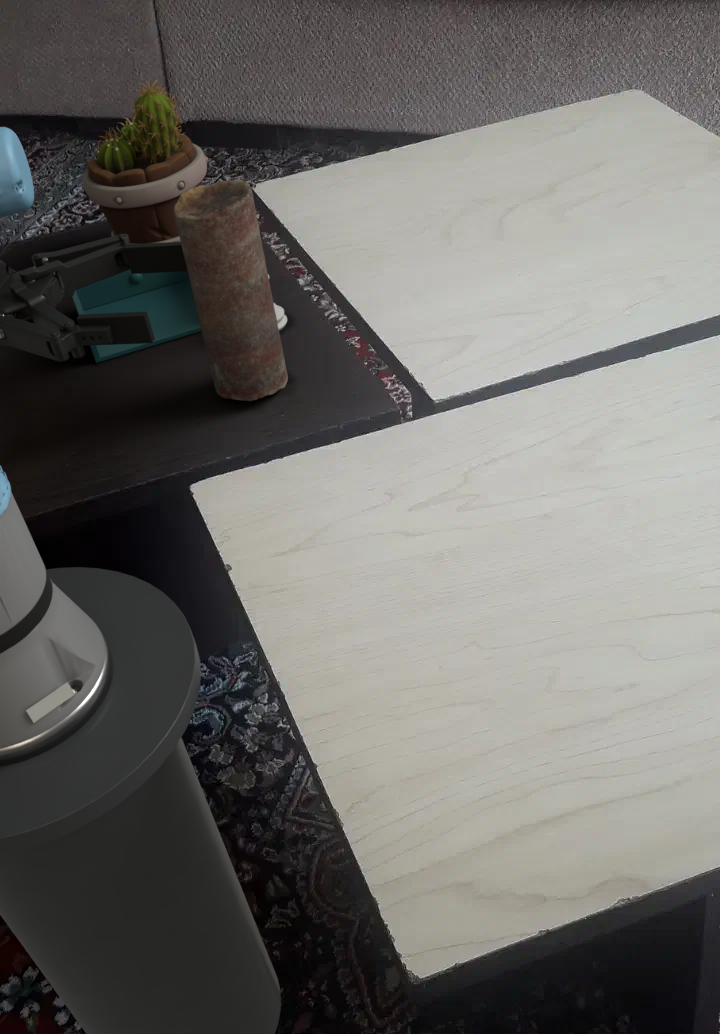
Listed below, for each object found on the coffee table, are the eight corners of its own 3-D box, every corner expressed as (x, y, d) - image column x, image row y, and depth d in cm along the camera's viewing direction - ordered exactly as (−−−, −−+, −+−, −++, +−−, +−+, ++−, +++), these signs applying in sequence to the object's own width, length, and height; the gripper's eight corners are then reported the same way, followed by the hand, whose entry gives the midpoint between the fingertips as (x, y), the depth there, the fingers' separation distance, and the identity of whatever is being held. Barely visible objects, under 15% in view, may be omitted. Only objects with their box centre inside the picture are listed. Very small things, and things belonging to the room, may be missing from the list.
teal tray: (229, 322, 117) (220, 284, 114) (96, 363, 115) (82, 325, 111) (194, 264, 128) (185, 228, 125) (72, 300, 126) (60, 264, 123)
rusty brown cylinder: (279, 412, 103) (239, 209, 89) (207, 412, 104) (157, 212, 90) (296, 370, 108) (261, 171, 94) (228, 370, 110) (183, 174, 95)
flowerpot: (84, 273, 131) (27, 102, 117) (147, 217, 140) (101, 53, 126) (185, 281, 126) (138, 102, 112) (243, 222, 135) (207, 51, 121)
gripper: (29, 274, 115) (214, 264, 111) (-72, 404, 98) (142, 398, 94) (3, 206, 110) (196, 193, 106) (-108, 331, 93) (117, 321, 89)
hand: (171, 290), depth 100 cm, fingers open, 13 cm apart
